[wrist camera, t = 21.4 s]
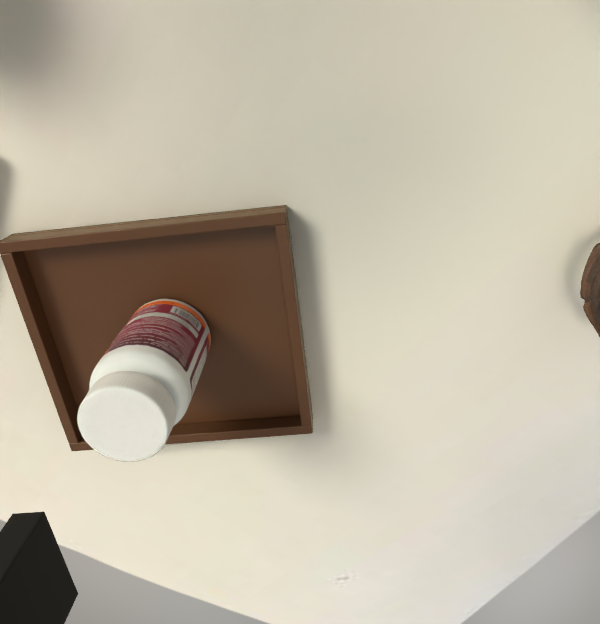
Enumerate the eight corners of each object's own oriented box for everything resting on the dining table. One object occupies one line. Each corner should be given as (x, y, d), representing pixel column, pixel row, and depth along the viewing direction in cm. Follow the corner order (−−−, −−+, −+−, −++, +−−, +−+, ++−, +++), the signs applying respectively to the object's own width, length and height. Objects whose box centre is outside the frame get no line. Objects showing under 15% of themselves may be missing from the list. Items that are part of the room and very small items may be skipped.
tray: (12, 234, 37) (-5, 242, 35) (286, 204, 36) (284, 212, 34) (81, 435, 44) (71, 451, 42) (312, 417, 43) (312, 433, 41)
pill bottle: (119, 304, 39) (47, 389, 28) (199, 288, 38) (155, 369, 28) (146, 375, 41) (90, 477, 31) (222, 361, 40) (190, 460, 30)
